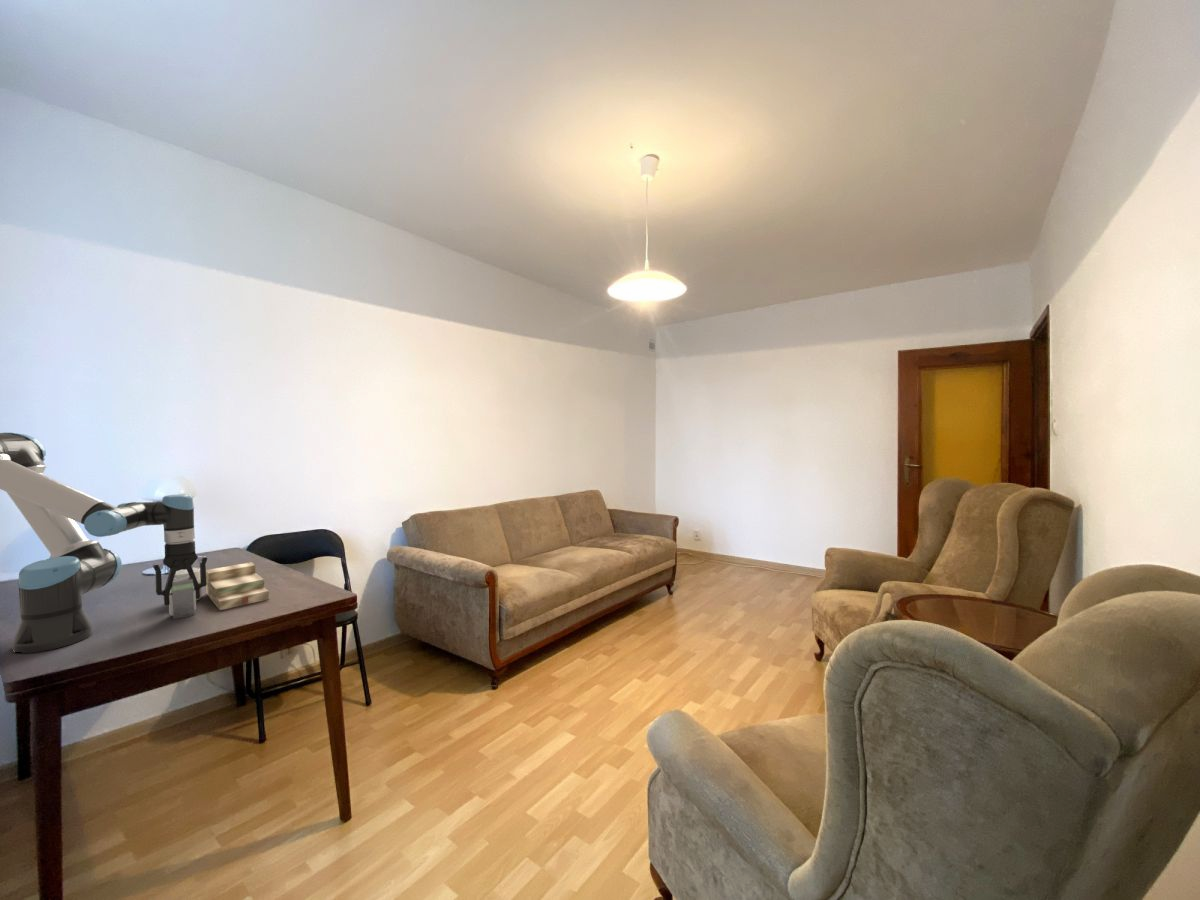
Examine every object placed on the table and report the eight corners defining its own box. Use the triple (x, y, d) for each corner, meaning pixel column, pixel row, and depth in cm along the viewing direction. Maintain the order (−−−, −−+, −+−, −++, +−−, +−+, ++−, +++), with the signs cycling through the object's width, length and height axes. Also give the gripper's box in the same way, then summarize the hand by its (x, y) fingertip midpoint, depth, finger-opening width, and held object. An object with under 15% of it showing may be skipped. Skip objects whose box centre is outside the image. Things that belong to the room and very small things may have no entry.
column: (173, 619, 153) (172, 582, 152) (171, 615, 156) (169, 579, 156) (194, 614, 157) (193, 579, 156) (191, 610, 160) (190, 575, 160)
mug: (178, 608, 162) (177, 577, 162) (166, 601, 169) (165, 572, 168) (209, 600, 169) (208, 571, 169) (196, 594, 176) (195, 566, 175)
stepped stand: (220, 610, 160) (219, 584, 160) (206, 593, 177) (205, 570, 176) (269, 599, 171) (268, 574, 170) (252, 584, 187) (251, 562, 187)
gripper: (142, 548, 146) (146, 622, 147) (217, 538, 160) (219, 606, 161) (140, 544, 151) (143, 616, 152) (212, 535, 165) (215, 601, 166)
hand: (182, 611), depth 156 cm, fingers closed on column, 5 cm apart
